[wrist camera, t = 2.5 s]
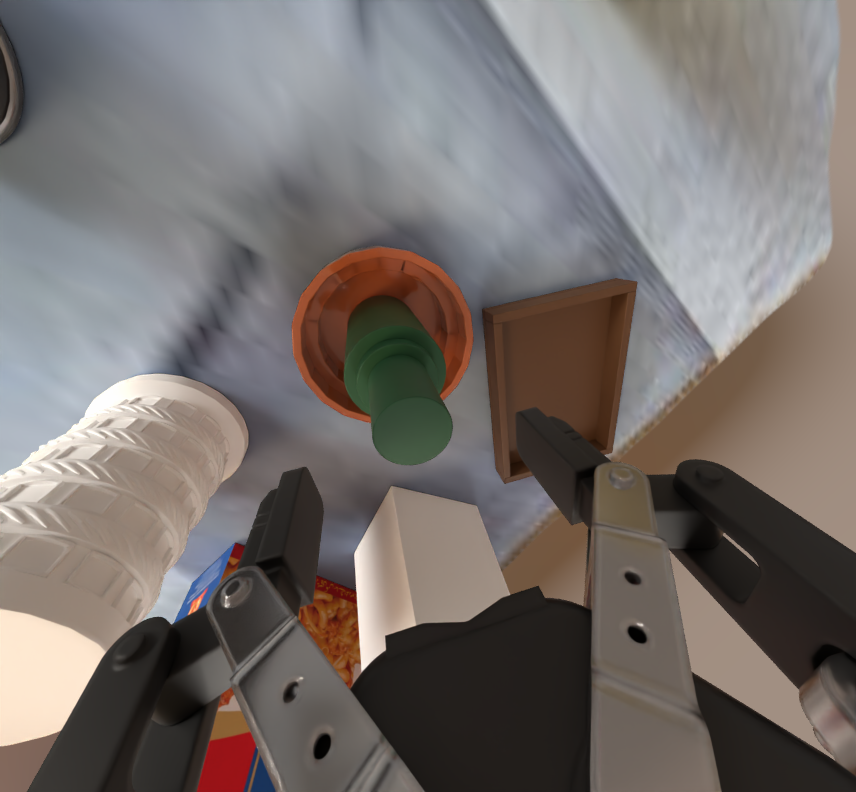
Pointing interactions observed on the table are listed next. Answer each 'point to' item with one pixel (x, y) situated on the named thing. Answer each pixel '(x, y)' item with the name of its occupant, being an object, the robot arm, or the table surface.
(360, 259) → the bowl
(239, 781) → the pasta box
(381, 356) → the bottle
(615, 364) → the tray
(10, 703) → the decorative container
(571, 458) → the robot arm
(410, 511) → the milk
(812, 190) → the table surface
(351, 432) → the table surface
